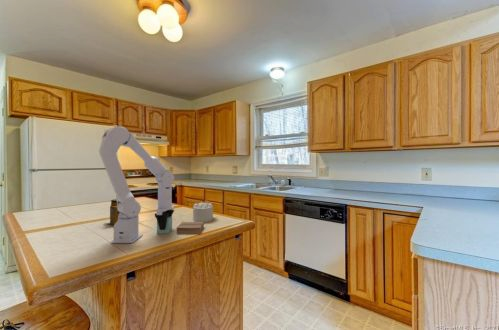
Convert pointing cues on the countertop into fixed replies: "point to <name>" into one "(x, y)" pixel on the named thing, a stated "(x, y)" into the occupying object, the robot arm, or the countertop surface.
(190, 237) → the countertop surface
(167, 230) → the teal block
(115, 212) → the condiment
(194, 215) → the lumpy-topped squat cylinder
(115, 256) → the countertop surface
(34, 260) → the countertop surface
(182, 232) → the walnut base
